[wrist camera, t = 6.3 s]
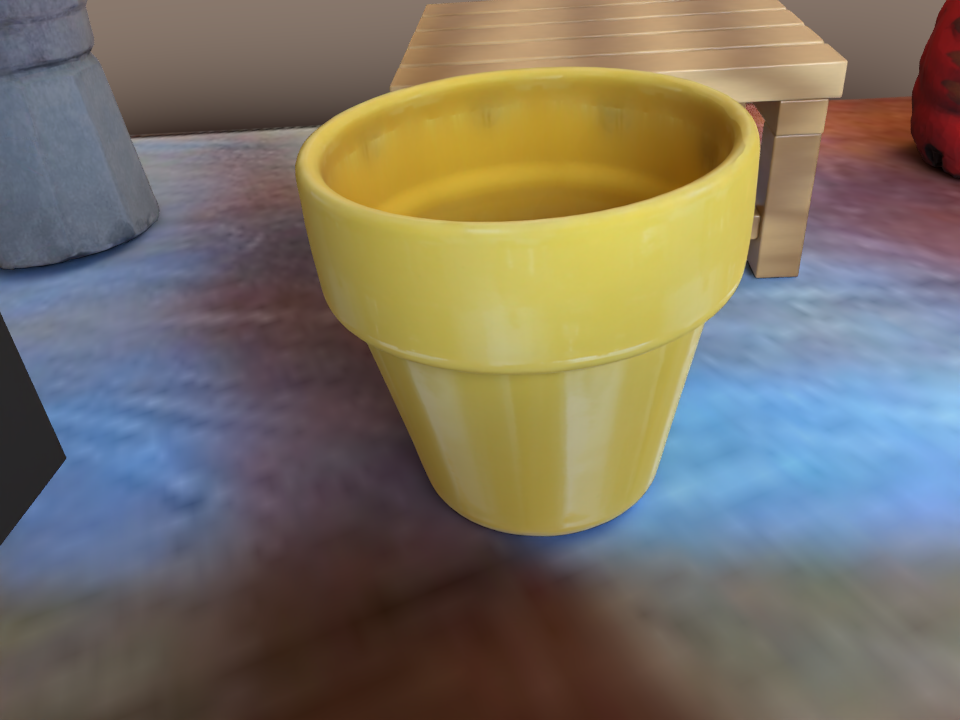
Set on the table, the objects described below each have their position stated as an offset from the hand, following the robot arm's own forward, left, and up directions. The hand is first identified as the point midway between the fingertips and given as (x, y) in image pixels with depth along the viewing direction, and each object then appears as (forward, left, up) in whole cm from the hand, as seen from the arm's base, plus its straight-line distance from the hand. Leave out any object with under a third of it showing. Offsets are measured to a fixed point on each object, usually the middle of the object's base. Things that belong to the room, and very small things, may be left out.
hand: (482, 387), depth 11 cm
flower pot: (+4, -9, -10) cm, 14 cm away
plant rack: (+9, -24, -9) cm, 27 cm away
